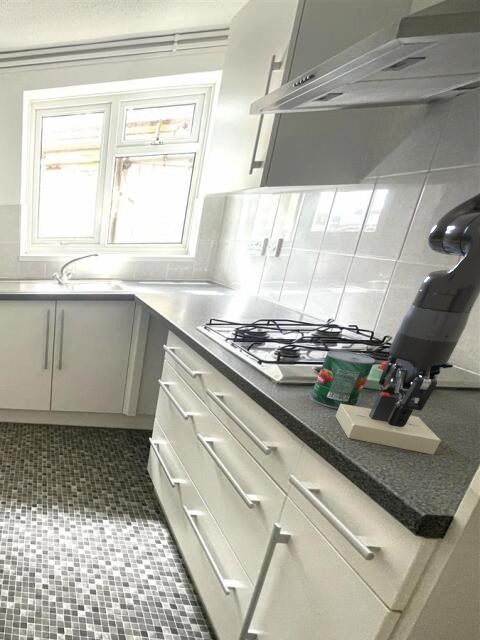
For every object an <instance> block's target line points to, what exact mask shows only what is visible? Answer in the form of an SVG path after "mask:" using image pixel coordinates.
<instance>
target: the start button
mask: <svg viewBox="0 0 480 640" xmlns="http://www.w3.org/2000/svg"><path fill="white" fill-rule="evenodd" d="M386 363H387V361H382V362H381V363H380V364H381V366H380V369H382V370H384V368H385V366H386Z"/></svg>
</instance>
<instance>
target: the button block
mask: <svg viewBox="0 0 480 640" xmlns="http://www.w3.org/2000/svg"><path fill="white" fill-rule="evenodd" d="M381 364H382V363H380V364H377V363H376V364H373V366H372V369H371V371H370V373H369V375H368V378H367V380H366V382H365V384H364V387H363V389H364V388H366V389H371V390H377V391H378V390H379V391H381V386H382V385H380V384H379V380H380V378H381V376H382V373H383V371H384V370H382V369H380V366H381ZM404 390H407V391H408V390H409V389H404Z"/></svg>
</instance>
